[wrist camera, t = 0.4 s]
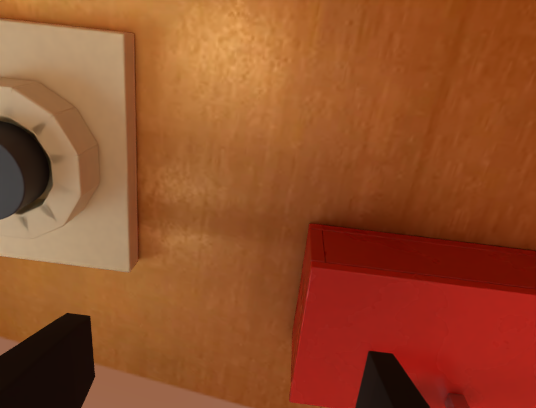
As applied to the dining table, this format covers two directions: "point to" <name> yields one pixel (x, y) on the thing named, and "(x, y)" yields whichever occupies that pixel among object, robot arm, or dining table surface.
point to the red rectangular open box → (412, 260)
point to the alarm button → (20, 169)
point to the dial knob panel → (73, 142)
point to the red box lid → (416, 337)
